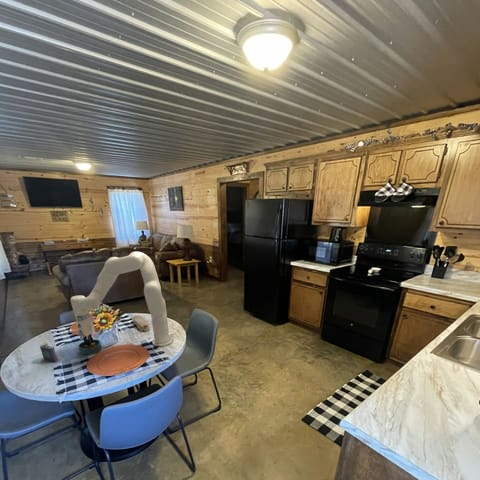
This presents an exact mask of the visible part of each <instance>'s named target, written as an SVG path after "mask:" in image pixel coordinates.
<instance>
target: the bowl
mask: <svg viewBox="0 0 480 480" xmlns="http://www.w3.org/2000/svg"><path fill="white" fill-rule="evenodd" d="M93 343H95V346H94V347H91V348H85V343H84V341H82V342H80V343H79V344H78V345H77V348H78V352H79V354H81V355H83V356H85V355H86V356H88V355H95V354H96V353H99V352H100V351H101V350H102V348H103V347H102V346H103V345H102V342H101V340H99V339H94V338H93Z"/></svg>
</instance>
